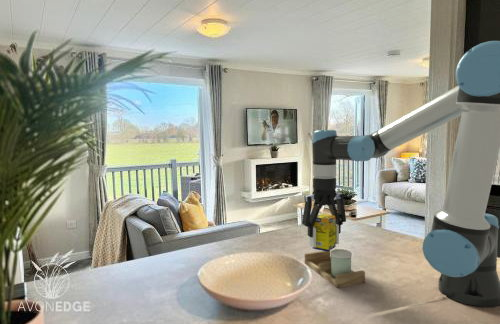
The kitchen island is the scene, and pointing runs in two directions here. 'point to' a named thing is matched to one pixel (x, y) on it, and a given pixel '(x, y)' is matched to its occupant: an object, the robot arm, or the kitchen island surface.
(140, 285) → the kitchen island surface
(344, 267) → the pale green cylinder
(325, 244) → the supplement box
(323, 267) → the caddy
